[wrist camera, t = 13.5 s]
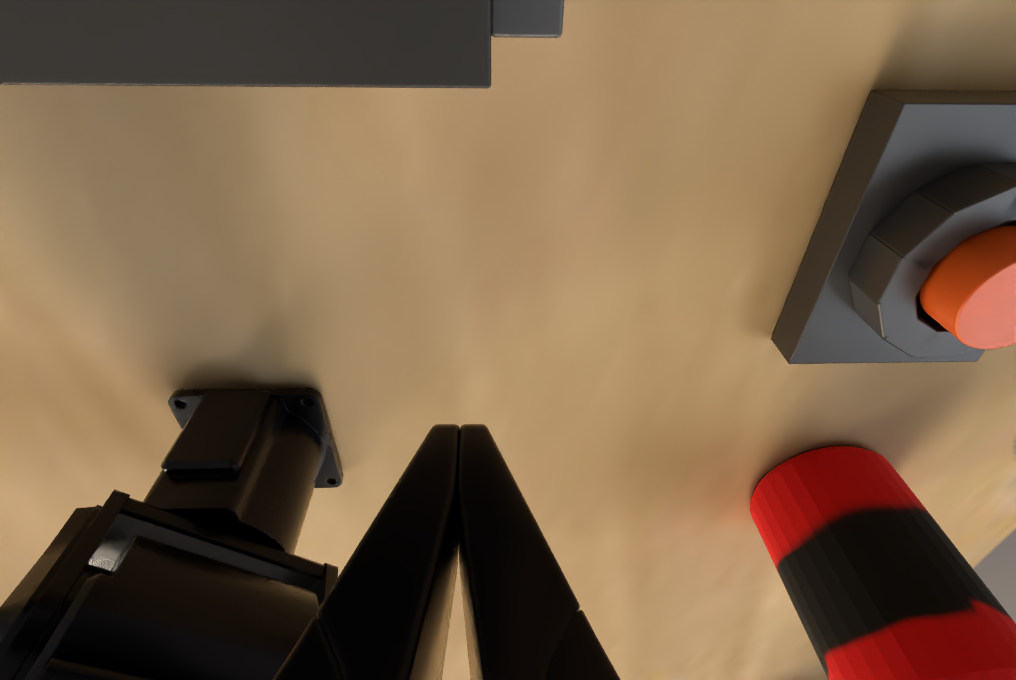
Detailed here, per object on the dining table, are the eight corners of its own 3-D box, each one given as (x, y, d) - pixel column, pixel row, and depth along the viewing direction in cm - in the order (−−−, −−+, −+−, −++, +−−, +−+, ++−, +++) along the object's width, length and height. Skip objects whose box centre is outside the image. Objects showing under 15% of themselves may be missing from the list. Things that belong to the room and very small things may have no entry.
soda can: (722, 488, 29) (840, 756, 19) (858, 420, 26) (1075, 696, 17) (781, 541, 33) (905, 789, 23) (906, 486, 30) (1108, 745, 20)
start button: (997, 318, 19) (1039, 349, 17) (899, 319, 18) (933, 350, 17) (1064, 224, 16) (1118, 250, 15) (953, 224, 16) (998, 251, 15)
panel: (947, 337, 23) (1012, 391, 20) (770, 339, 23) (810, 394, 20) (1109, 91, 17) (1232, 120, 14) (870, 89, 17) (947, 119, 14)
